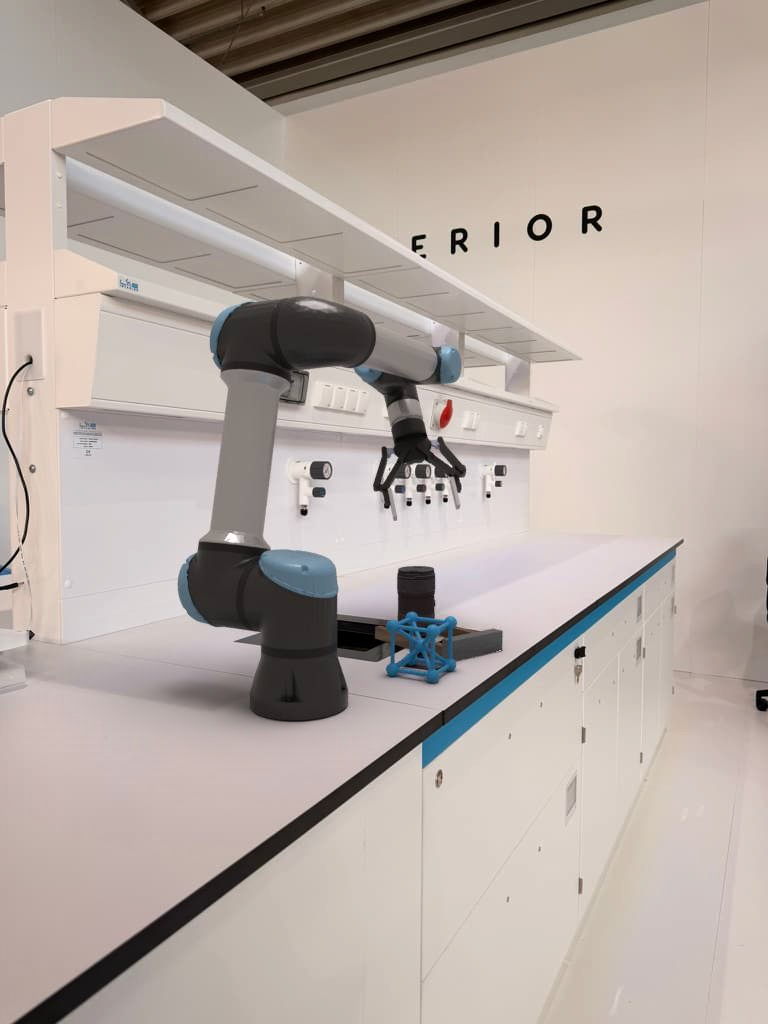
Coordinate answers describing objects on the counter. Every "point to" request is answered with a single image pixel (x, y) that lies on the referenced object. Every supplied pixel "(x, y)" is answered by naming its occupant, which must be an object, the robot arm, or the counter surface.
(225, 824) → the counter surface
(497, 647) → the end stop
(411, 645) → the molecular structure
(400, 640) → the guide rails
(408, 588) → the camera lens
